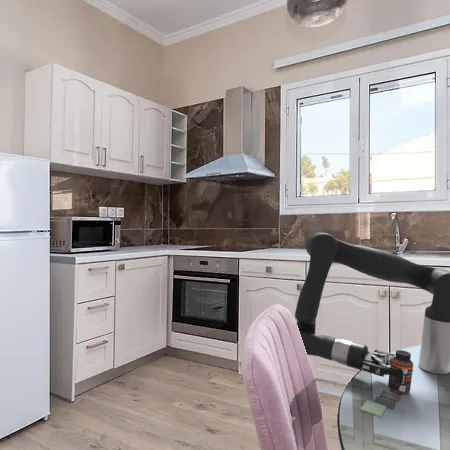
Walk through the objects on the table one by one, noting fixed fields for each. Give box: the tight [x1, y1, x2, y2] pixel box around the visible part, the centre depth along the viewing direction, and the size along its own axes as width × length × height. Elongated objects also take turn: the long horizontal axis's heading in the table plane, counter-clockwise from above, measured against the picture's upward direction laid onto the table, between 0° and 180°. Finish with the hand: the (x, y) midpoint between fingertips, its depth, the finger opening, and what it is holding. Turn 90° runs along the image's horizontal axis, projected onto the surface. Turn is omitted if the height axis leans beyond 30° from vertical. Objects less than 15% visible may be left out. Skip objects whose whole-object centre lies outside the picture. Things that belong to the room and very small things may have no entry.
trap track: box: [360, 389, 402, 418], centre depth 110 cm, size 16×7×1 cm, turn 146°
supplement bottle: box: [387, 349, 414, 395], centre depth 119 cm, size 6×6×11 cm
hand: (405, 369), depth 118 cm, fingers open, 8 cm apart
